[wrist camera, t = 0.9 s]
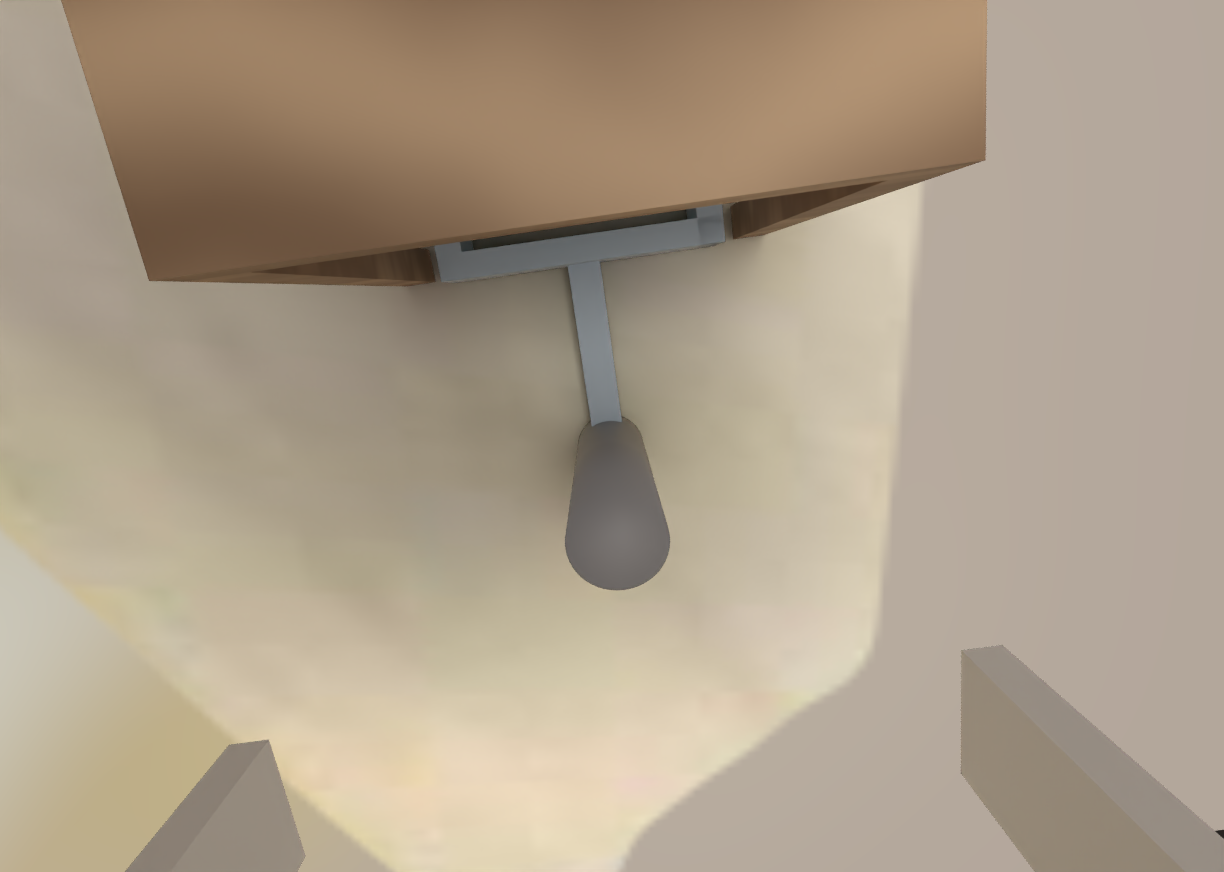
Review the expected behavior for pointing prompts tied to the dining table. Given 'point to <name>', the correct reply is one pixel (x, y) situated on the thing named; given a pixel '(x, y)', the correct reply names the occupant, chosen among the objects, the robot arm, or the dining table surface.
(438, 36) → the tunnel
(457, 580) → the dining table surface
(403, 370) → the dining table surface
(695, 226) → the grey frame on stick
